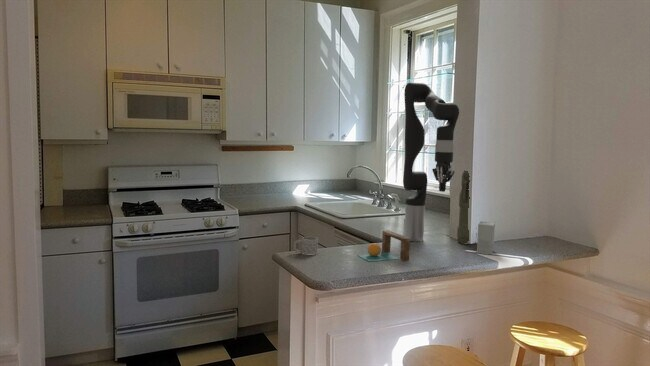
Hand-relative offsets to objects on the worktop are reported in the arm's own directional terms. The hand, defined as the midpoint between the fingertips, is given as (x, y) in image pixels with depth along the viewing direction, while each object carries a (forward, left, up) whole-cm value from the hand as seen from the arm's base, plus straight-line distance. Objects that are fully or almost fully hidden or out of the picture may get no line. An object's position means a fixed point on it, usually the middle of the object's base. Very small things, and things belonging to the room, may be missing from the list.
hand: (442, 191), depth 217 cm
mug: (-16, -56, -27) cm, 64 cm away
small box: (+5, +21, -27) cm, 35 cm away
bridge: (-1, -22, -27) cm, 35 cm away
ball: (-3, -30, -24) cm, 39 cm away
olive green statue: (-14, +26, -27) cm, 40 cm away
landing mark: (-1, -30, -27) cm, 40 cm away
